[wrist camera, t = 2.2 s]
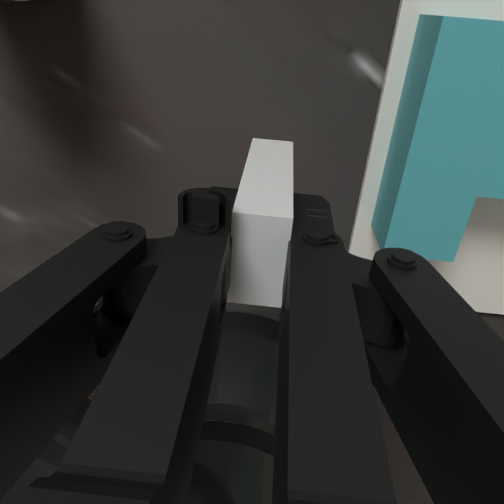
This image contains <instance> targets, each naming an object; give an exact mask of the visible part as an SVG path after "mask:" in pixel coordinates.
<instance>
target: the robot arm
mask: <svg viewBox="0 0 504 504" xmlns="http://www.w3.org/2000/svg"><path fill="white" fill-rule="evenodd" d="M227 294H228V296H227ZM226 299H227V302H231V303H241V304H250V305H260V306H269V307H278V308H281V314H280V321H279V323H278V322H276V321H274V320H271V319H268V318H265V317H262V316H258V315H254V314H249V313H241V312H226ZM96 302H98V304H97V305H96V306H95V304H96ZM100 382H101V383H100ZM99 383H100V385H99V387H98V389H97V391H96V393H95V395H94V397H93V399H92V401H91V400H90V399H88V398H87V397H88V396H89V395H90V394H91V393H92V391H93V390H94V389H95V388H96V387H97V386H98V384H99ZM372 383H373V385H374V387H375V389H376V391H377V393H378V395H379V397H380V399H381V400H382V402H383V404H384V406H385V408H386V410H387V412H388V414H389V416H390V418H391V420H392V422H393V424H394V426H395V428H396V430H397V432H398V434H399V436H400V438H401V440H402V442H403V444H404V446H405V447H406V449H407V451H408V453H409V455H410V457H411V459H412V461H413V463H414V465H415V467H416V469H417V471H418V473H419V475H420V477H421V479H422V481H423V483H424V485H425V487H426V489H427V491H428V493H429V494H430V496H431V498H432V500H433V502H434V504H504V341H503V340H502V339H501V338H500V337H499V336H498V335H497V334H496V333H495V332H494V331H493V329H492V328H491V327H490V326H489V325H488V324H487V323H486V322H485V321H484V320H483V319H482V318H481V317H480V316H479V315H478V314H477V313H476V311H475V310H474V309H473V308H472V307H471V306H470V305H469V304H468V303H467V302H466V301H465V300H464V299H463V298H462V297H461V296H460V294H459V293H458V292H457V291H456V290H455V289H454V288H453V287H452V286H451V285H450V284H449V283H448V282H447V281H446V280H445V279H444V278H443V276H442V275H441V274H440V273H439V272H438V271H437V270H436V269H435V268H434V267H433V266H432V265H431V264H430V263H429V262H428V261H427V260H426V259H425V258H423V257H422V256H421V255H419V254H416V253H414V252H413V251H411V250H408V249H406V250H405V249H404V248H383V249H380V250H378V251H376V252H375V255H374V257H373V261H372V260H369V259H365V258H361V257H358V256H355V255H353V254H351V253H349V252H347V251H345V248H344V243H343V241H342V239H341V237H340V236H338V235H337V234H335V232H334V226H333V221H332V215H331V210H330V204H329V202H328V201H327V200H325V199H324V198H323V197H322V196H318V195H307V194H297V193H293V142H288V141H278V140H267V139H257V138H253V140H252V143H251V147H250V150H249V154H248V157H247V161H246V164H245V168H244V172H243V175H242V179H241V182H240V186H239V189H234V188H223V187H213V186H212V187H211V188H194V189H189V190H186V191H183V192H181V193H180V194H179V195H178V227H177V230H176V232H175V234H174V236H170V237H165V238H155V239H146V232H145V229H144V228H142V227H141V226H140V225H137V224H134V223H129V222H125V221H119V222H117V221H115V222H110V223H107V224H103V225H101V226H98V227H96V228H94V229H93V230H91V231H90V232H88V233H87V234H86V235H84V236H83V237H81V238H80V239H78V240H77V241H75V242H74V243H72V244H71V245H69V246H68V247H67V248H65V249H64V250H62V251H61V252H59V253H58V254H56V255H55V256H53V257H52V258H50V259H49V260H47V261H46V262H45V263H43V264H42V265H40V266H39V267H37V268H36V269H34V270H33V271H31V272H30V273H28V274H27V275H26V276H24V277H23V278H21V279H20V280H18V281H17V282H15V283H14V284H12V285H11V286H9V287H8V288H6V289H5V290H4V291H2V292H1V293H0V504H397V503H396V499H395V494H394V489H393V484H392V479H391V474H390V469H389V464H388V459H387V454H386V449H385V445H384V440H383V435H382V430H381V425H380V420H379V415H378V410H377V405H376V400H375V395H374V390H373V386H372Z"/></svg>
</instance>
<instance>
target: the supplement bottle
mask: <svg viewBox="0 0 504 504" xmlns="http://www.w3.org/2000/svg"><path fill="white" fill-rule="evenodd" d="M0 1H9V2H23V1H30V0H0Z"/></svg>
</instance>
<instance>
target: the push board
mask: <svg viewBox="0 0 504 504" xmlns="http://www.w3.org/2000/svg"><path fill="white" fill-rule="evenodd" d="M420 14H427V15H439V16H450V17H462V18H474V19H486V20H498V21H504V0H400V5H399V10H398V14H397V19H396V24H395V29H394V33H393V38H392V43H391V48H390V53H389V57H388V62H387V67H386V72H385V76H384V81H383V86H382V91H381V95H380V100H379V105H378V110H377V115H376V119H375V124H374V129H373V134H372V138H371V143H370V148H369V153H368V157H367V162H366V167H365V172H364V177H363V181H362V186H361V191H360V196H359V200H358V205H357V210H356V215H355V220H354V224H353V229H352V234H351V239H350V243H349V248H348V252H349V253H351V254H353V255H355V256H358V257H361V258H365V259H369V260H372V261H373V257H374V255H375V252H376V251H378V250H380V247H379V244H378V242H377V239H376V236H375V234H374V231H373V228H372V226H371V222H372V218H373V213H374V209H375V205H376V200H377V196H378V192H379V187H380V183H381V179H382V175H383V170H384V166H385V162H386V157H387V153H388V149H389V144H390V140H391V136H392V131H393V127H394V123H395V118H396V114H397V110H398V105H399V101H400V97H401V93H402V88H403V84H404V80H405V75H406V71H407V67H408V62H409V58H410V54H411V49H412V45H413V41H414V36H415V32H416V28H417V23H418V19H419V15H420ZM426 260H427V259H426ZM427 261H428V262H429V263H430V264H431V265H432V266H433V267H434V268H435V269H436V270H437V271H438V272H439V273H440V274H441V275H442V276H443V278H444V279H445V280H446V281H447V282H448V283H449V284H450V285H451V286H452V287H453V288H454V289H455V290H456V291H457V292H458V293H459V294H460V296H461V297H462V298H463V299H464V300H465V301H466V302H467V303H468V304H469V305H470V306H471V307H472V308H473V309H474V310H475V311H476V312H483V313H493V314H503V315H504V199H497V198H487V197H476V199H475V202H474V205H473V208H472V210H471V213H470V216H469V219H468V222H467V225H466V227H465V230H464V233H463V236H462V239H461V242H460V244H459V247H458V250H457V253H456V256H455V259H454V261H453V262H448V261H438V260H427Z"/></svg>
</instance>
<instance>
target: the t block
mask: <svg viewBox="0 0 504 504" xmlns="http://www.w3.org/2000/svg"><path fill="white" fill-rule="evenodd" d="M476 197H487V198H497V199H504V21H498V20H486V19H474V18H462V17H450V16H439V15H427V14H420V15H419V19H418V23H417V28H416V32H415V36H414V41H413V45H412V49H411V54H410V58H409V62H408V67H407V71H406V75H405V80H404V84H403V88H402V93H401V97H400V101H399V105H398V110H397V114H396V118H395V123H394V127H393V131H392V136H391V140H390V144H389V149H388V153H387V157H386V162H385V166H384V170H383V175H382V179H381V183H380V187H379V192H378V196H377V200H376V205H375V209H374V213H373V218H372V222H371V226H372V228H373V231H374V234H375V236H376V239H377V242H378V244H379V247H380V249H383V248H404V249H405V250H406V249H408V250H411V251H413V252H414V253H416V254H419V255H421V256H422V257H423V258H425V259H427V260H438V261H448V262H453V261H454V259H455V256H456V253H457V250H458V247H459V244H460V242H461V239H462V236H463V233H464V230H465V227H466V225H467V222H468V219H469V216H470V213H471V210H472V208H473V205H474V202H475V199H476Z"/></svg>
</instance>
